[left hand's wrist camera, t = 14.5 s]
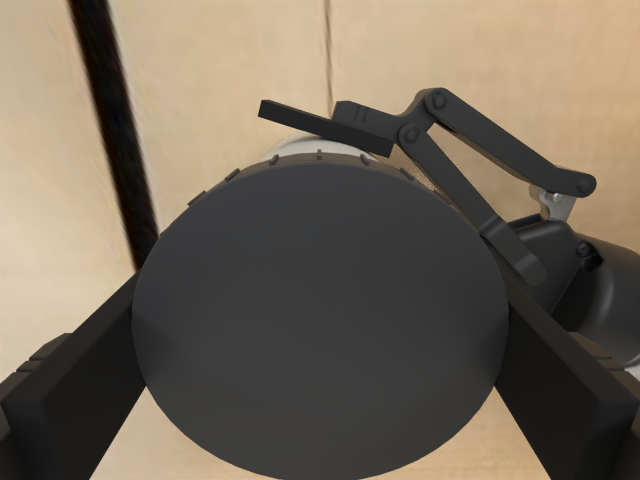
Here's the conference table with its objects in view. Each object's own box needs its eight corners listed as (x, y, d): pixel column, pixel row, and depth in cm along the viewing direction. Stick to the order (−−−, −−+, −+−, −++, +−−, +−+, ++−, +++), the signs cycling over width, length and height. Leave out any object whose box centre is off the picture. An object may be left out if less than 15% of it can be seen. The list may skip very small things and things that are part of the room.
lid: (198, 448, 14) (181, 497, 12) (112, 173, 11) (72, 187, 9) (479, 424, 14) (501, 470, 12) (491, 127, 10) (526, 134, 8)
